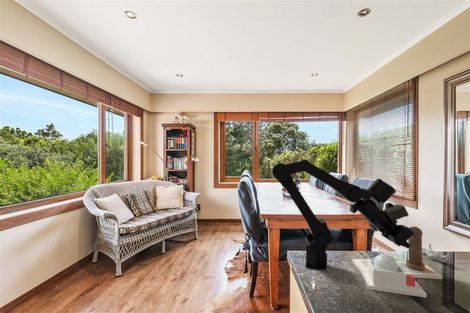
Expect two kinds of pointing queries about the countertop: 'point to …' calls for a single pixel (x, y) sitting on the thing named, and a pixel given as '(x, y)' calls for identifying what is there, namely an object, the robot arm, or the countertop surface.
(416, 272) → the game track
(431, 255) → the soldier figure
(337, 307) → the countertop surface
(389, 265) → the dome
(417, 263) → the pawn
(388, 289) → the base
